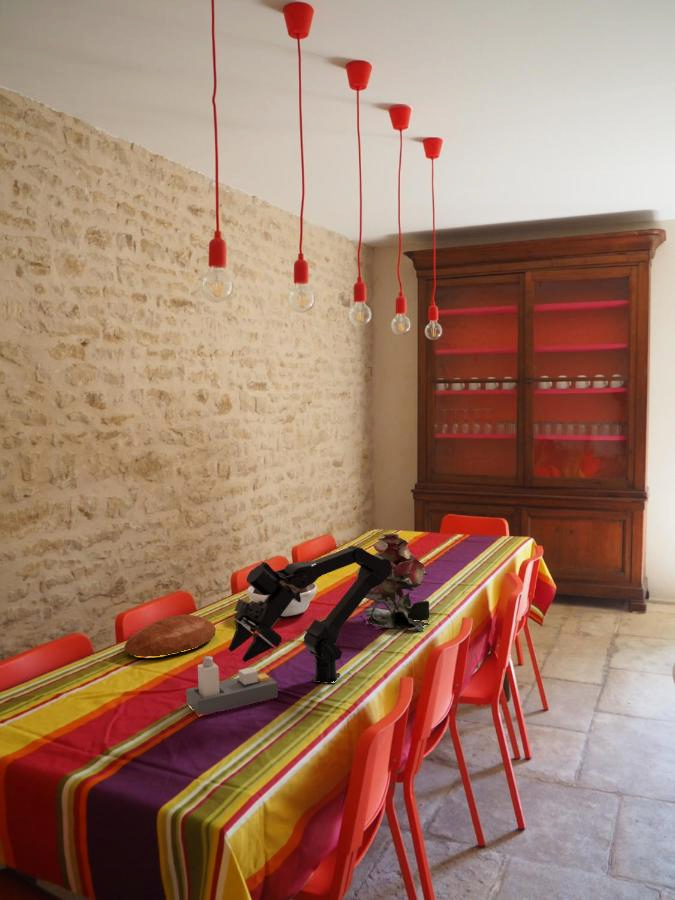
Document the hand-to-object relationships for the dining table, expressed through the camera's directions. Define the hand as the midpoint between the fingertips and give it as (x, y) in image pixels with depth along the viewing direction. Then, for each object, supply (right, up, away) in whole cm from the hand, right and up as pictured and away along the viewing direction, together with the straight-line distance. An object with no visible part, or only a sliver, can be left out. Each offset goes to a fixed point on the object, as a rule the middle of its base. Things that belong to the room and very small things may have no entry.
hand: (236, 655), depth 186 cm
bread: (-27, -10, +46) cm, 54 cm away
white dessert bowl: (+6, -7, +78) cm, 78 cm away
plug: (-6, -12, -3) cm, 14 cm away
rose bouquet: (+44, -6, +66) cm, 80 cm away
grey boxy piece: (-1, -12, 0) cm, 12 cm away
